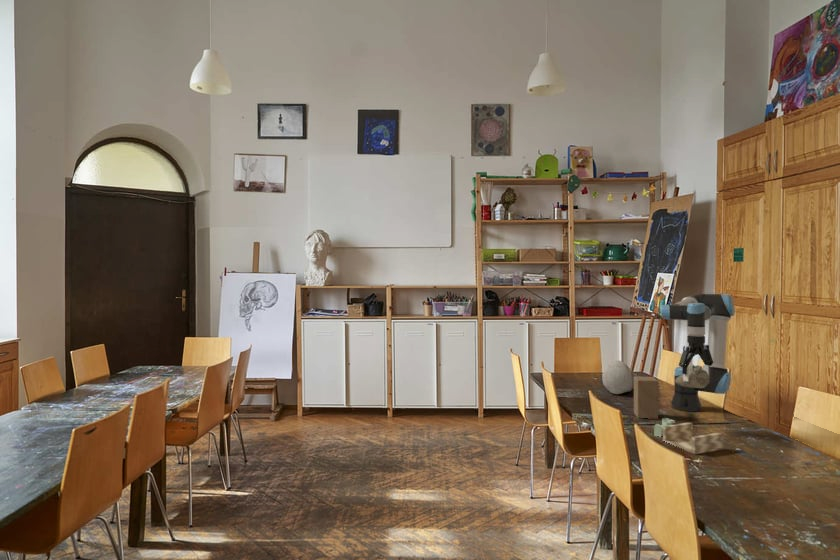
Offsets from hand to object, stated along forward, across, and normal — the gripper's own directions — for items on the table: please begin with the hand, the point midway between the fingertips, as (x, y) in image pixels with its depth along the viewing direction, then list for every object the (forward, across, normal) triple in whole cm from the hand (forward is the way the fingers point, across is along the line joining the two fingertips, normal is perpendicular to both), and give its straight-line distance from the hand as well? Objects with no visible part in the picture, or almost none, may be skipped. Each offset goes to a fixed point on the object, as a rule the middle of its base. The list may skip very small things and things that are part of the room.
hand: (696, 379), depth 246 cm
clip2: (+24, +24, +1) cm, 34 cm away
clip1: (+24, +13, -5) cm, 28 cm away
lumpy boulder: (+4, +1, -1) cm, 4 cm away
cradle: (+24, +20, +16) cm, 35 cm away
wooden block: (+24, +6, -26) cm, 36 cm away
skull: (+24, -17, -73) cm, 79 cm away
